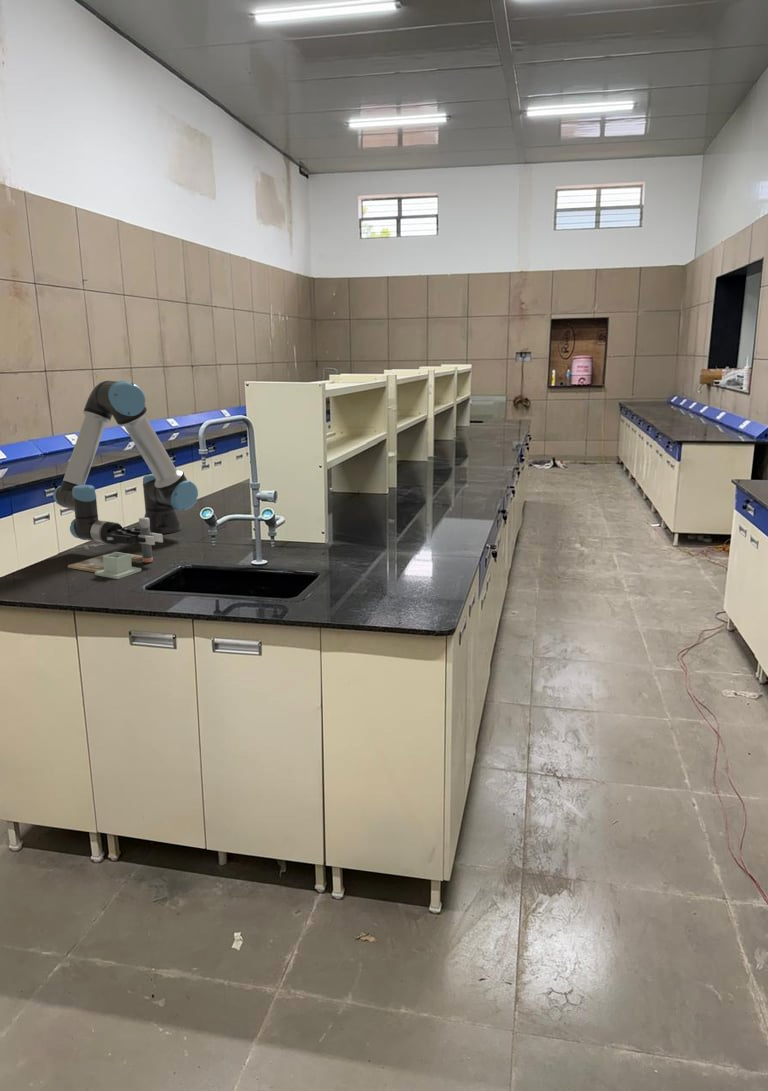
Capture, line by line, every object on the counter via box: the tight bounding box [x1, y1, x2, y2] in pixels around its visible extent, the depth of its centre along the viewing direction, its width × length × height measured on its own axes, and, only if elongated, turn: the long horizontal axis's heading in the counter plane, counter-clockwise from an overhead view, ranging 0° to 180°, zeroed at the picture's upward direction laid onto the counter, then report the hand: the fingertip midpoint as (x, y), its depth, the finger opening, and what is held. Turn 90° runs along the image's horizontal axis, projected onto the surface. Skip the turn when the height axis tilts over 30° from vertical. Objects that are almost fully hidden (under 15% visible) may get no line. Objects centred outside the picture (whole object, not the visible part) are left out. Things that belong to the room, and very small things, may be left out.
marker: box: [138, 516, 154, 564], centre depth 249 cm, size 3×3×15 cm
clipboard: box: [67, 551, 143, 573], centre depth 250 cm, size 20×14×2 cm
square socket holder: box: [94, 551, 142, 580], centre depth 238 cm, size 10×10×6 cm
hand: (157, 539), depth 246 cm, fingers closed on marker, 3 cm apart
